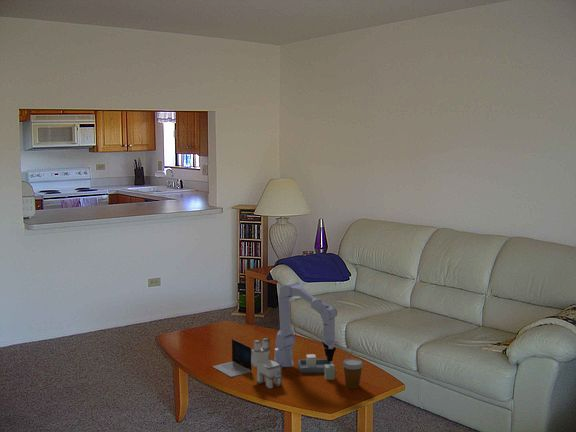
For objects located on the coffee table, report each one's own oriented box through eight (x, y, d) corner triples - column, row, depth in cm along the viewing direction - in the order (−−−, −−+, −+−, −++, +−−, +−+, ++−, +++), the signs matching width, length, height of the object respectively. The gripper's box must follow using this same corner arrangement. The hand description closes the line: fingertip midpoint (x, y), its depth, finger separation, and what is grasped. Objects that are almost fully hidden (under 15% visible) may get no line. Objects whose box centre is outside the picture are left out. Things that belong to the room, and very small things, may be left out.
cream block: (307, 368, 332) (307, 357, 331) (306, 365, 336) (306, 354, 335) (315, 368, 332) (315, 357, 331) (315, 365, 336) (315, 354, 336)
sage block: (325, 379, 320) (325, 367, 320) (324, 376, 325) (324, 364, 324) (334, 379, 321) (334, 367, 320) (333, 375, 325) (333, 364, 324)
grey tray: (300, 373, 328) (300, 368, 327) (298, 365, 340) (298, 359, 339) (333, 372, 329) (334, 367, 329) (330, 364, 341) (330, 358, 340)
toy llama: (272, 390, 307) (271, 349, 305) (251, 379, 321) (250, 339, 318) (284, 386, 312) (284, 346, 309) (263, 375, 326) (263, 336, 323)
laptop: (212, 367, 337) (211, 343, 336) (232, 362, 345) (232, 338, 343) (230, 378, 323) (230, 352, 322) (251, 372, 331) (251, 347, 329)
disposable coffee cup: (357, 391, 306) (357, 366, 304) (339, 387, 311) (339, 363, 309) (366, 384, 314) (366, 360, 312) (348, 380, 319) (348, 357, 317)
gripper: (339, 336, 313) (339, 363, 315) (335, 327, 328) (334, 353, 330) (324, 336, 313) (324, 363, 315) (320, 327, 327) (320, 353, 329)
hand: (328, 358), depth 322 cm, fingers open, 7 cm apart
